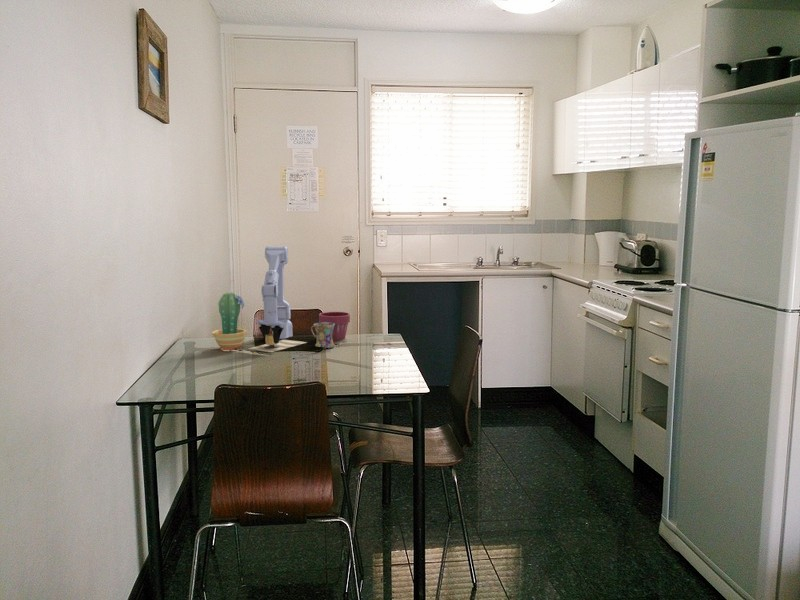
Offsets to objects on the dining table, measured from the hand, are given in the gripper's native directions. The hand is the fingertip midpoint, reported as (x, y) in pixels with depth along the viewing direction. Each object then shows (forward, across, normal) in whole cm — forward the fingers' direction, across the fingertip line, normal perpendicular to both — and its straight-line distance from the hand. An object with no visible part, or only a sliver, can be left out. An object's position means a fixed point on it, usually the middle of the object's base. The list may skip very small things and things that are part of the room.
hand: (271, 342), depth 296 cm
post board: (+3, 0, +4) cm, 5 cm away
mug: (+3, +16, +15) cm, 22 cm away
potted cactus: (+3, -17, -8) cm, 19 cm away
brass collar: (+1, 0, 0) cm, 1 cm away
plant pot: (+3, +12, +30) cm, 32 cm away
